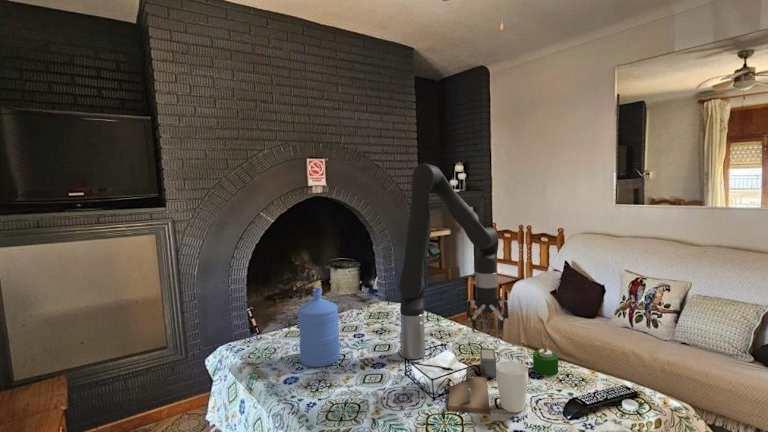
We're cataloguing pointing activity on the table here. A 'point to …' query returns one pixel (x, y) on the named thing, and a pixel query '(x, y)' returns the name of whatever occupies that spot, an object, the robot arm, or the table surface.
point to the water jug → (318, 332)
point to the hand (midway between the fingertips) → (487, 329)
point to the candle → (545, 361)
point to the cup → (512, 385)
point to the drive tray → (470, 395)
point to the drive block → (487, 363)
